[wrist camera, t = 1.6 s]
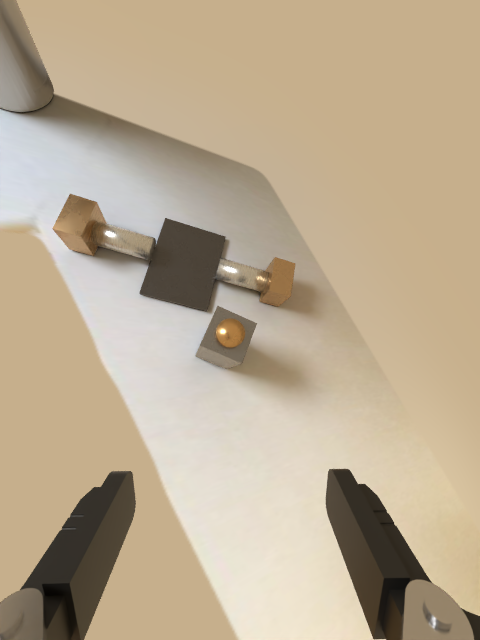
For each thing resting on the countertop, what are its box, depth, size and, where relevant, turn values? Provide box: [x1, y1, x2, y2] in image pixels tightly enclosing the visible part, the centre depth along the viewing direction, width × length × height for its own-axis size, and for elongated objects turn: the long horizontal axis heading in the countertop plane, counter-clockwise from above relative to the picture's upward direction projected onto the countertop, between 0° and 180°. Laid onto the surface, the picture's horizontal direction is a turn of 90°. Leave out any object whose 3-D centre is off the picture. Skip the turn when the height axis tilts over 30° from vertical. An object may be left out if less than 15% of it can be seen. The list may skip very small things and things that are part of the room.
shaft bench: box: [53, 194, 295, 311], centre depth 33 cm, size 29×12×4 cm, turn 79°
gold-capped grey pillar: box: [196, 306, 257, 369], centre depth 28 cm, size 4×4×10 cm
